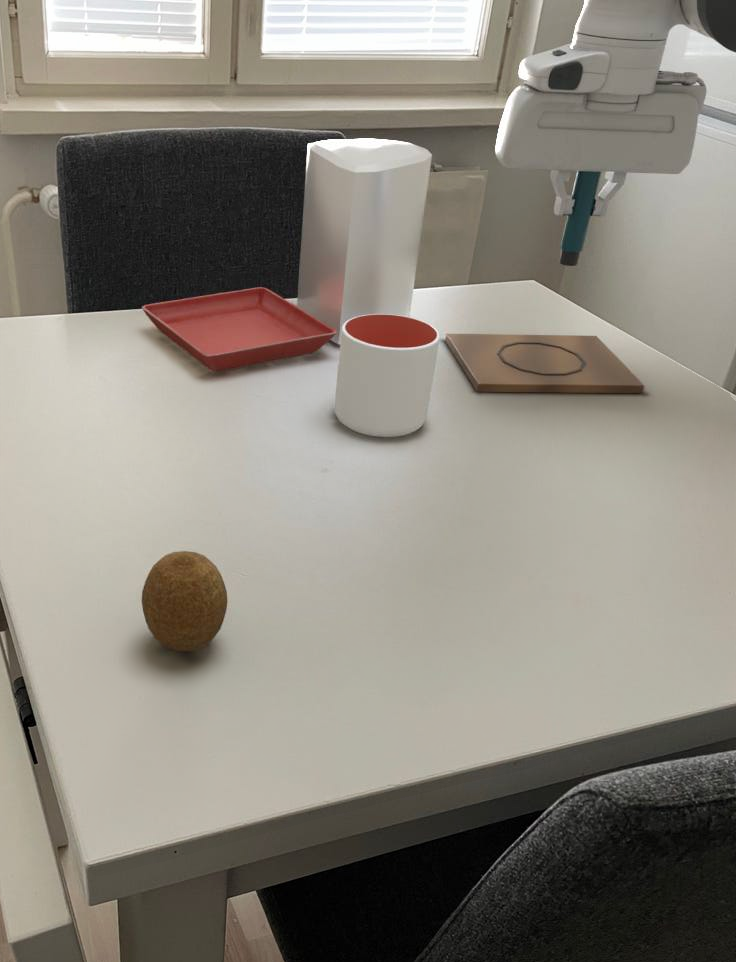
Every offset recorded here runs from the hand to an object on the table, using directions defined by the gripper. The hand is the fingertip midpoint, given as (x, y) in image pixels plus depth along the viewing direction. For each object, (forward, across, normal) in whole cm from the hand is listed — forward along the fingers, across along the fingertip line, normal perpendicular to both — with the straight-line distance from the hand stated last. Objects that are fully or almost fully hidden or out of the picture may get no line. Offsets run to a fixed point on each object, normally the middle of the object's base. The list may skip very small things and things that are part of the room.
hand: (578, 215), depth 107 cm
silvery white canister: (+19, +19, -18) cm, 32 cm away
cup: (+19, +22, +12) cm, 31 cm away
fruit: (+19, +44, +51) cm, 70 cm away
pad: (+19, -1, -4) cm, 19 cm away
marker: (+5, 0, 0) cm, 5 cm away
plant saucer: (+19, +36, -10) cm, 42 cm away
